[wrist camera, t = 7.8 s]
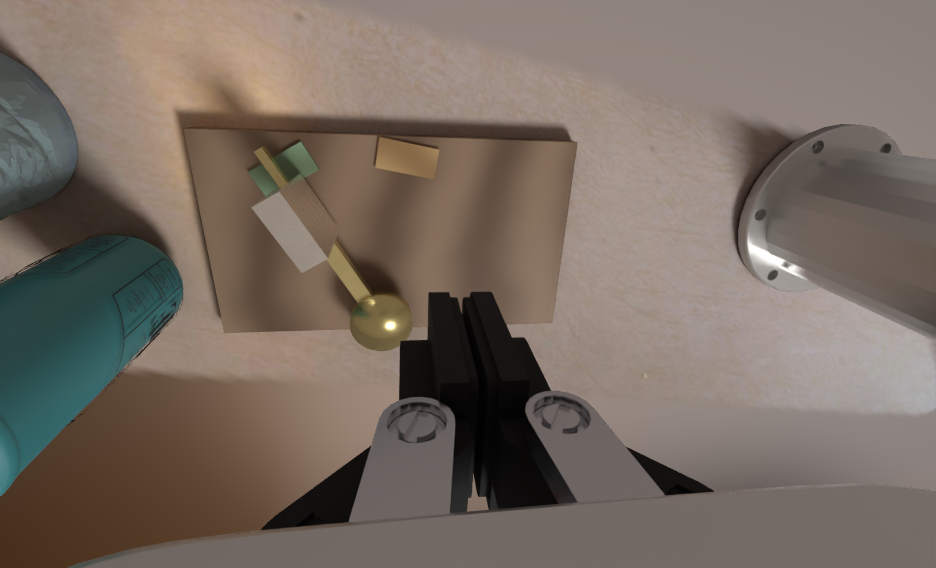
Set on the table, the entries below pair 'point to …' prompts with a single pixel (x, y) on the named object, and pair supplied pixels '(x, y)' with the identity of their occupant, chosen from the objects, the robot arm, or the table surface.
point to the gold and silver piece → (329, 256)
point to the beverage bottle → (74, 335)
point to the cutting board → (385, 222)
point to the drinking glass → (31, 140)
